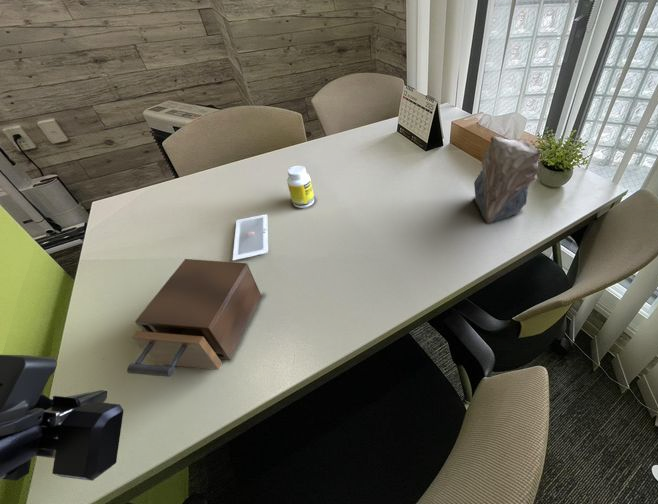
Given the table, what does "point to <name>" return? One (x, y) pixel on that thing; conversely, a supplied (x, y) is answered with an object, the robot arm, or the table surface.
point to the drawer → (174, 350)
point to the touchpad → (251, 237)
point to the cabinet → (206, 301)
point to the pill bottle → (300, 187)
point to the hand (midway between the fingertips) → (104, 394)
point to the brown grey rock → (505, 178)
